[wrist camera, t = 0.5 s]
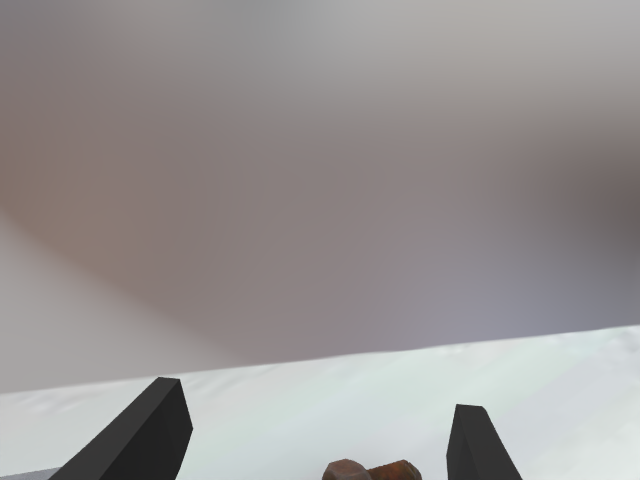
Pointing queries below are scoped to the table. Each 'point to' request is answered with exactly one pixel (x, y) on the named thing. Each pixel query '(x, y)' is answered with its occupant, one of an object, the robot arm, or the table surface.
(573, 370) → the table surface
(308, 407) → the table surface
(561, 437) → the table surface
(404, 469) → the bolt
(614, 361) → the table surface
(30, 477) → the plate
